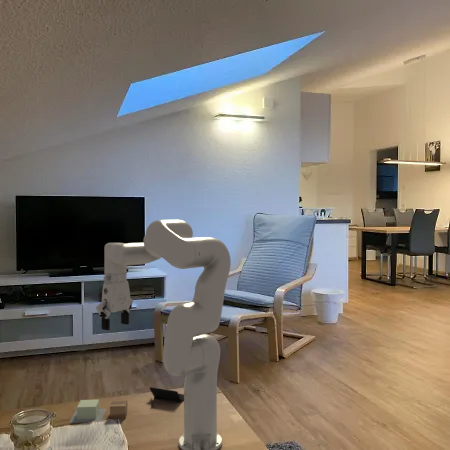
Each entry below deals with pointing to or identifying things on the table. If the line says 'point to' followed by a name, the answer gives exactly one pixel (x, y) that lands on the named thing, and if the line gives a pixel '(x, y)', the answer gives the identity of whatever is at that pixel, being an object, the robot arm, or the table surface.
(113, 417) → the walnut cube
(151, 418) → the table surface
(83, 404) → the sage base block
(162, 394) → the handheld gaming console
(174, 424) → the table surface
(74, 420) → the board
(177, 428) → the table surface
